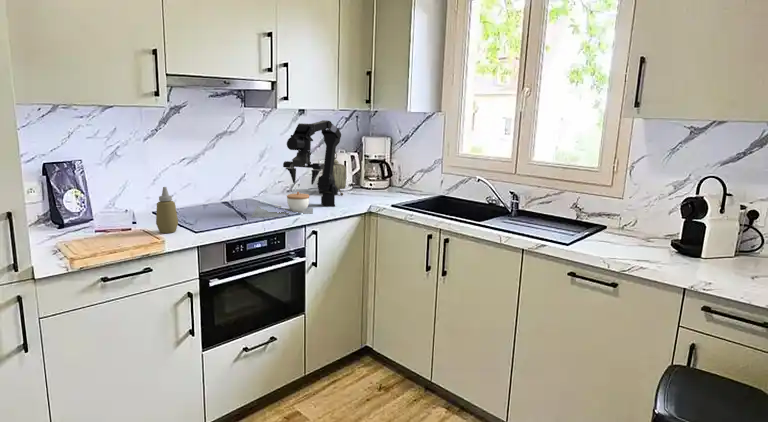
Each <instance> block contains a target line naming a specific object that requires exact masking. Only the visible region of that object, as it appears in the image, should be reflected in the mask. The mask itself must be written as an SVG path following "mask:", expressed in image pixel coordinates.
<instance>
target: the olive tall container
mask: <svg viewBox="0 0 768 422" xmlns="http://www.w3.org/2000/svg"><path fill="white" fill-rule="evenodd" d="M337 157H338V154H337V152H336V151H335V159H334V167H333V177H334V179H335V185H336V187H337V189H338V192H339V193H340V195H341V196H343V195H344V192H342V190H344V189H346V186H347V170H346V169H347V168H346V166H345V165H344V164H342V163H339V161H338V160H337V159H338V158H337ZM323 170H324V169H323ZM323 170H322V171H321V172H322V174H323ZM322 174H321V175H322Z"/></svg>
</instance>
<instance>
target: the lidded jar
mask: <svg viewBox="0 0 768 422" xmlns="http://www.w3.org/2000/svg"><path fill="white" fill-rule="evenodd" d="M286 199H287V200H286V201H287V202H286V203H287V206H288V208H290V209H291V210H292V211H293V212H304V211H305V209H306V208H309V207H308V206H309V203H310V194H308V193H300V191H297V192H296V193H290V194H287V195H286Z"/></svg>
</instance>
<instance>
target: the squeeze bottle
mask: <svg viewBox="0 0 768 422" xmlns="http://www.w3.org/2000/svg"><path fill="white" fill-rule="evenodd" d="M161 193H162V194H161V195H159V196H158V202H157V203H156V216H155V217H156V218H155V219H156V221H155V224H156V227H157V229H158V231H159V233H161V234H172V233H175V232H176V231H177V229H178V225H179V219H178V213H177V209H176V202H175V201H173V196H172V195H170V194H169V192H168V188H167V186H163V187H162V191H161Z"/></svg>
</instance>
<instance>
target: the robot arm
mask: <svg viewBox="0 0 768 422" xmlns="http://www.w3.org/2000/svg"><path fill="white" fill-rule="evenodd" d="M320 131H321V135H322V136H323V142H324V143H325V146H326V147H325V154H324V162H323V163H320V162H318V163H317V162H311V156H312V152H311V148H312V147H311V146H312V142H314V139H313V138H312V136H313V135H315V134H316V132H320ZM341 138H342V133H341V131H340V129H339V128H338V126H336V125H334V124H333V123H332V121H331V120H321V121H316V122H312V123H298V124H297V126H296V128H295V130H294V132H293V134H291V135H290V137H289V138H288V139H287V141H286V147H287V149H289V150H290V151H297V152H296V156H295V157H293V158H292V159H291V160H289V161H288V160H287V161H286V160H285V161H284V162H283V165H282V168H285V170H287V171H288V172H289V175H290V177H291V180H292V183H293V184H296V181H297V180H296V177H297V168H308V169H311V183H310V184H311V185H312V186H313V185H314V183H315V181H316V178H317V177H318V175H319V173H320V172H322V170H323V169H324V170H323V174H321V176H319V177H318V179H317V189H318V193H319V194H321V195H322V196H321V197H320V198H321V199H320V205H321V207H335V206H336V202H335V201H336V199H335V196H336V195H338V193H339V190H338V189H337V187H336V185H335V179H334V177H333V167H334V159H335V158H336V154H335V152H336V149H337V147H338V145H339V144H340V141H341ZM335 160H336V159H335Z"/></svg>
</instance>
